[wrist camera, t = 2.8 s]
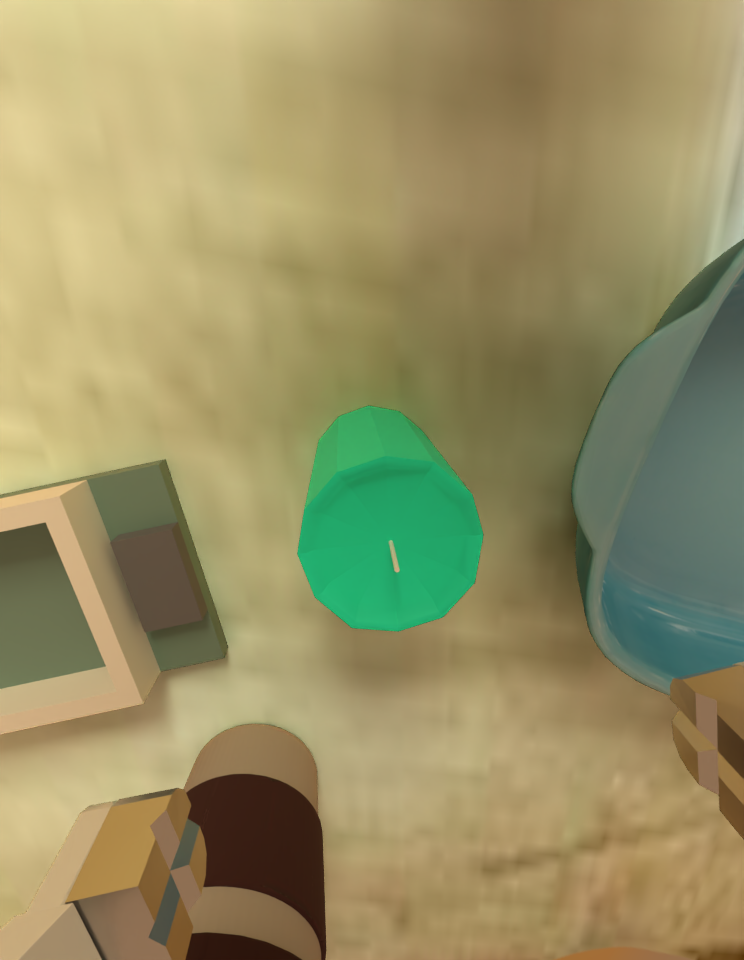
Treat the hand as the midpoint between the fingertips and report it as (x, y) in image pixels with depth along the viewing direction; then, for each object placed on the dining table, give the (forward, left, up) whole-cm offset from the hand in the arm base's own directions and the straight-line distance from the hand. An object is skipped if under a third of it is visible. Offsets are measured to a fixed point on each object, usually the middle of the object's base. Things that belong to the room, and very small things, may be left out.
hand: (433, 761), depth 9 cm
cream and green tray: (+17, +3, -19) cm, 26 cm away
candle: (0, 0, -19) cm, 19 cm away
